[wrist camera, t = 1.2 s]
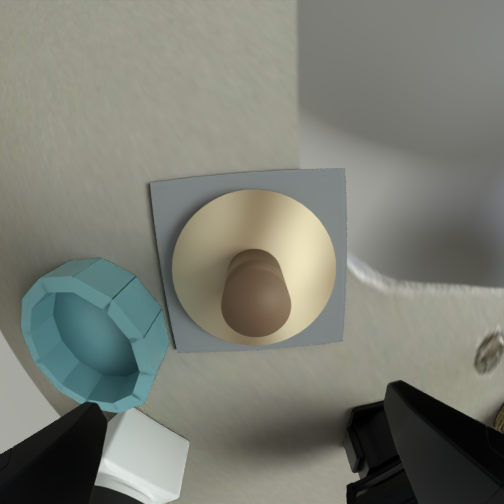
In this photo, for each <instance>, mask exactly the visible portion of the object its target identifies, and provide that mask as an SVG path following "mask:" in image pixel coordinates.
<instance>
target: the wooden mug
mask: <svg viewBox="0 0 504 504" xmlns="http://www.w3.org/2000/svg"><path fill="white" fill-rule="evenodd" d="M495 429H496V430H497V431H499V432H502V433H504V406H503V407H502V409H501V410H500V412H499V413H498V415H497V417H496V420H495Z"/></svg>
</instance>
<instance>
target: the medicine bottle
mask: <svg viewBox="0 0 504 504" xmlns="http://www.w3.org/2000/svg"><path fill="white" fill-rule="evenodd" d="M188 448H189V441H188V440H186V439H184V438H183V437H181V436H179V435H177V434H176V433H174V432H172V431H170V430H169V429H167V428H165V427H164V426H162V425H161V424H159V423H157V422H156V421H154V420H153V419H151V418H149V417H148V416H146V415H145V414H143V413H142V412H140V411H139V410H137V409H136V408H134V407H133V408H131V409H129V410H126V411H124V412H122V413H117V414H116V415H115V416H114V417H113V418H112V419H111V420H110V421H109V422H108V426H107V432H106V437H105V442H104V447H103V453H102V458H101V463H100V467H99V470H98V474H97V477H96V481H95V484H94V488H93V492H92V495H91V499H90V503H89V504H164V503H167V502H170V501H172V500H175V499H178V498H179V496H180V490H181V485H182V479H183V474H184V469H185V464H186V459H187V454H188Z"/></svg>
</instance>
